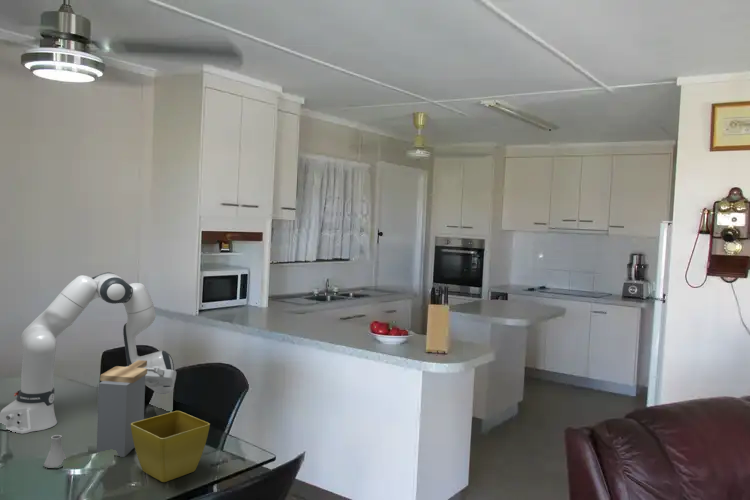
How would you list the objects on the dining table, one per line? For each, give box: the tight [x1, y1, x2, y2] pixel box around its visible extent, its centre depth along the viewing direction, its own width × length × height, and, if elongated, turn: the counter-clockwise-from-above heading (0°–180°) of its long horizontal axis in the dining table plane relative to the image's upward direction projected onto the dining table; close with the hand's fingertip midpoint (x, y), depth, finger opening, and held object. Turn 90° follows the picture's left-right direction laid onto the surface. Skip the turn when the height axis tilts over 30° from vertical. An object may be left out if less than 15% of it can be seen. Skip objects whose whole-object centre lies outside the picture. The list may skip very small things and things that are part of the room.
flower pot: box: [131, 410, 211, 483], centre depth 204 cm, size 19×19×17 cm
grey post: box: [96, 375, 146, 458], centre depth 220 cm, size 10×16×26 cm, turn 178°
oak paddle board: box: [99, 360, 147, 383], centre depth 225 cm, size 12×22×2 cm, turn 178°
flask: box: [42, 434, 67, 468], centre depth 203 cm, size 7×7×10 cm
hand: (143, 369), depth 238 cm, fingers open, 8 cm apart
